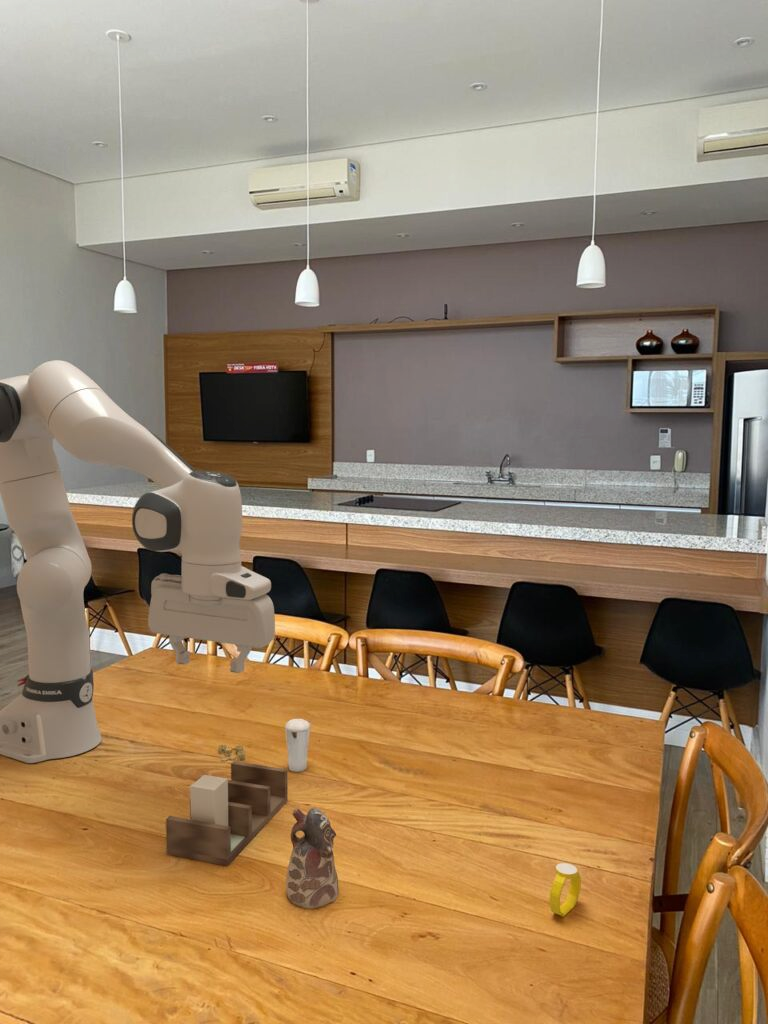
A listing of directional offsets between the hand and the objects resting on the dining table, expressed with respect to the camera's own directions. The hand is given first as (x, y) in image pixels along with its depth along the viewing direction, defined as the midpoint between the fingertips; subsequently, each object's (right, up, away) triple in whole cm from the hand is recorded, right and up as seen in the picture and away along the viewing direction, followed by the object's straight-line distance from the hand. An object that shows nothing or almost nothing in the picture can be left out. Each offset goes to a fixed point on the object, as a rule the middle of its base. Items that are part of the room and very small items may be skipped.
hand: (209, 667), depth 123 cm
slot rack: (+3, -26, +3) cm, 26 cm away
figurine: (+17, -28, -14) cm, 36 cm away
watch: (+51, -29, -17) cm, 61 cm away
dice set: (-2, -23, +29) cm, 37 cm away
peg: (+1, -25, -3) cm, 25 cm away
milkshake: (+11, -23, +24) cm, 36 cm away
